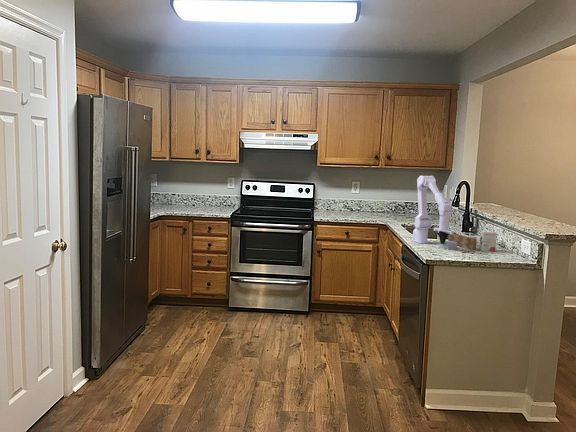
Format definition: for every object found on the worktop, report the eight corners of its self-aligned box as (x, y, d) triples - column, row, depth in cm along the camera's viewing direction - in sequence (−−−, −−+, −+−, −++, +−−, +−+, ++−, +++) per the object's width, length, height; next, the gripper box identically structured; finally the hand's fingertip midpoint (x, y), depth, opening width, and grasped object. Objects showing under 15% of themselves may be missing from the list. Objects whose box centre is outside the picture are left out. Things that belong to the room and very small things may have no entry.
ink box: (492, 249, 298) (493, 231, 297) (495, 251, 293) (497, 232, 292) (478, 249, 298) (480, 230, 296) (481, 251, 293) (483, 232, 291)
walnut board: (447, 243, 312) (448, 233, 311) (451, 243, 314) (451, 233, 313) (472, 250, 295) (473, 238, 294) (475, 249, 296) (476, 238, 296)
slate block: (439, 247, 300) (439, 241, 300) (448, 246, 304) (449, 240, 303) (447, 249, 294) (448, 243, 293) (456, 248, 298) (457, 242, 297)
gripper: (430, 220, 299) (429, 242, 300) (448, 224, 286) (446, 246, 288) (439, 220, 302) (437, 241, 304) (456, 224, 289) (454, 245, 291)
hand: (442, 243), depth 296 cm, fingers closed
